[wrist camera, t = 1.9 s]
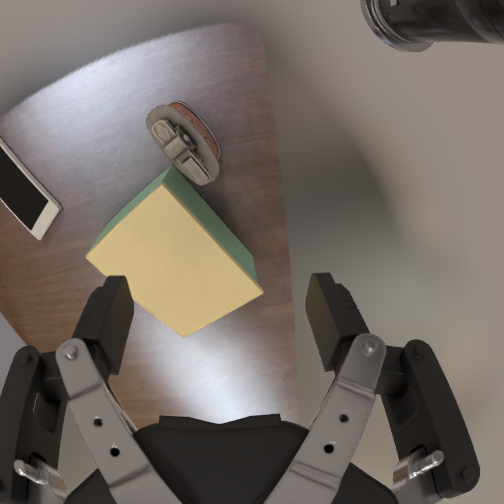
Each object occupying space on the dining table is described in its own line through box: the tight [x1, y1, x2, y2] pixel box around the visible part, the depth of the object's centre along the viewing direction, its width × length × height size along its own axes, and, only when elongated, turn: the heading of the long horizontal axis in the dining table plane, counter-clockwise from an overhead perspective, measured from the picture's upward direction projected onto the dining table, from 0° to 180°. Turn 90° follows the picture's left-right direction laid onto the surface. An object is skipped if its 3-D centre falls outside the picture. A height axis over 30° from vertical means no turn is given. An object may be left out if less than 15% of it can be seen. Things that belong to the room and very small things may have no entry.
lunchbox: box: [88, 165, 258, 283], centre depth 31 cm, size 12×16×7 cm
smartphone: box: [0, 138, 61, 240], centre depth 26 cm, size 7×16×1 cm, turn 38°
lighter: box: [146, 101, 220, 185], centre depth 23 cm, size 8×3×10 cm, turn 35°
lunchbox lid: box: [86, 182, 263, 338], centre depth 28 cm, size 12×16×1 cm
